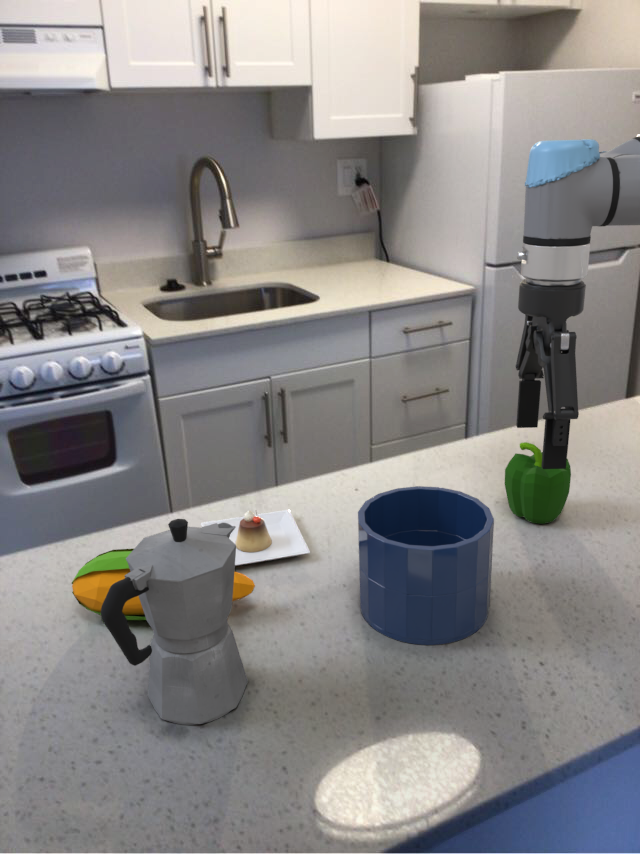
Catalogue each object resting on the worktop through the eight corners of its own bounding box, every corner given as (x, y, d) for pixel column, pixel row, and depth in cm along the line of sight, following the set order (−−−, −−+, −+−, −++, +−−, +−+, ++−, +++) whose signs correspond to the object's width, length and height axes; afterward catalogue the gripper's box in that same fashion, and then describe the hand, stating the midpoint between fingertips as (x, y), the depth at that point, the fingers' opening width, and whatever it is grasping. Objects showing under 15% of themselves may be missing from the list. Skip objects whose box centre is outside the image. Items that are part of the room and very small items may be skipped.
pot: (476, 569, 88) (479, 484, 85) (500, 644, 75) (506, 548, 71) (358, 572, 89) (356, 487, 85) (362, 647, 76) (360, 551, 72)
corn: (79, 533, 84) (257, 532, 83) (91, 589, 87) (263, 589, 86) (54, 573, 77) (247, 573, 76) (68, 632, 81) (254, 633, 79)
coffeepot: (209, 637, 78) (192, 480, 72) (281, 669, 73) (269, 503, 67) (90, 729, 67) (56, 551, 60) (165, 775, 61) (137, 586, 55)
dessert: (310, 560, 92) (309, 525, 90) (212, 577, 89) (208, 541, 87) (289, 516, 103) (287, 484, 101) (201, 530, 100) (197, 497, 98)
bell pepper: (582, 517, 99) (589, 446, 96) (541, 536, 95) (546, 464, 91) (531, 495, 106) (536, 428, 102) (490, 512, 101) (494, 443, 98)
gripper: (499, 263, 101) (491, 413, 108) (548, 302, 78) (533, 488, 85) (556, 262, 101) (543, 411, 108) (622, 300, 77) (600, 487, 85)
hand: (539, 446), depth 97 cm, fingers open, 13 cm apart
